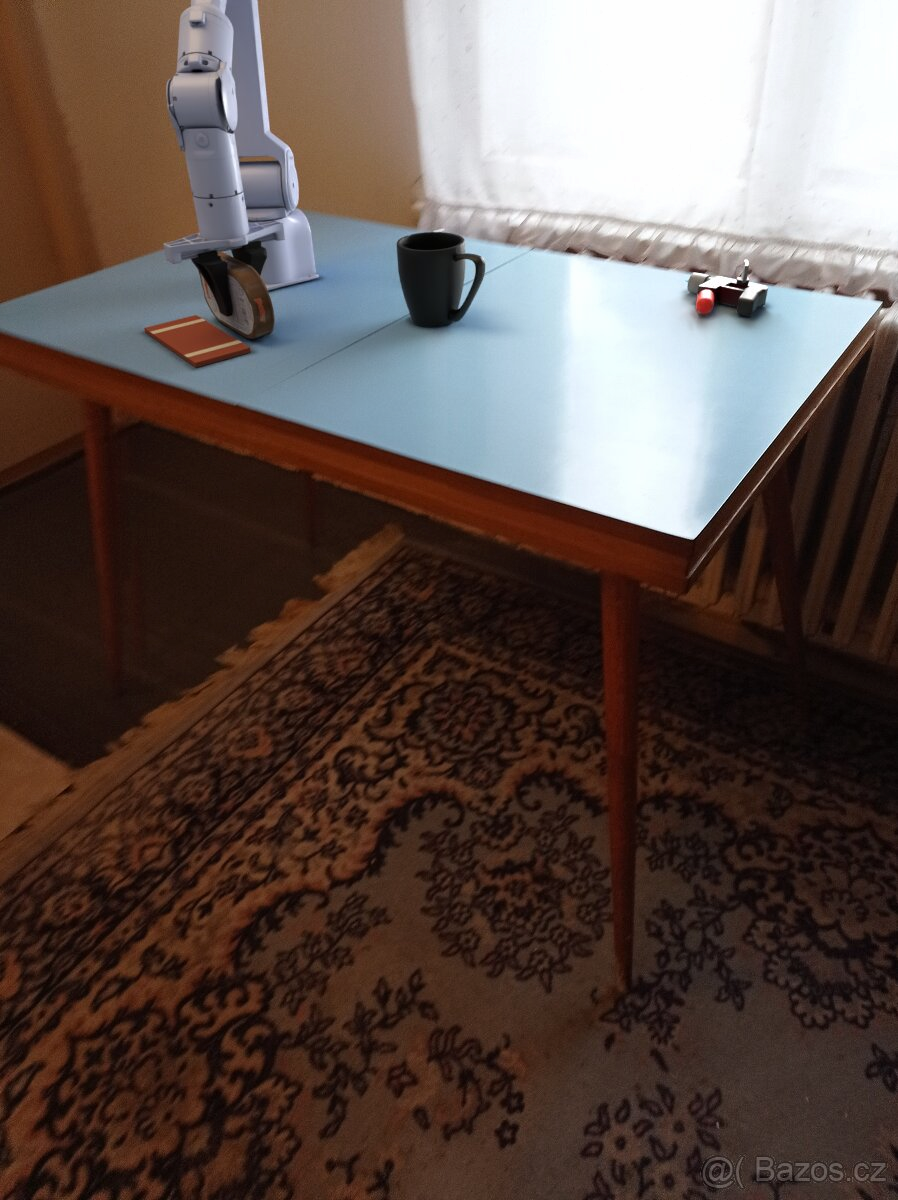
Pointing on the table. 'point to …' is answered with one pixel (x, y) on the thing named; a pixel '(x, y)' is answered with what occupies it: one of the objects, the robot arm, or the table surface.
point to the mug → (436, 277)
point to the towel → (197, 340)
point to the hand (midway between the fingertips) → (238, 311)
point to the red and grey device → (727, 292)
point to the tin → (243, 300)
